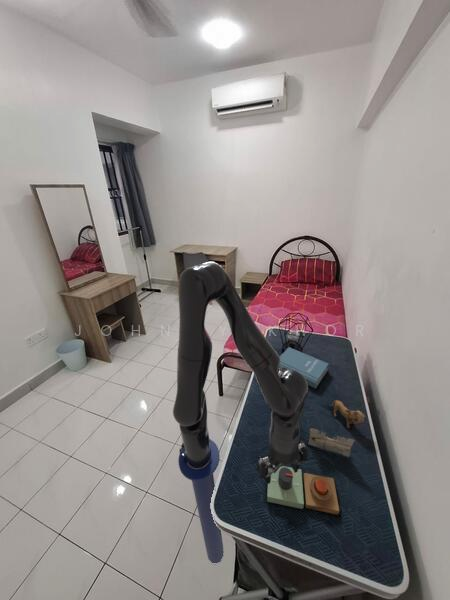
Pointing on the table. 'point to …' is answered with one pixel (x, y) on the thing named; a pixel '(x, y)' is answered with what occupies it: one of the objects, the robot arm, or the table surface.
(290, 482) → the knob
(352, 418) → the lion figurine
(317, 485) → the button
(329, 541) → the table surface
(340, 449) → the comb
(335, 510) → the button box
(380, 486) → the table surface
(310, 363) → the book
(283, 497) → the green dial box
